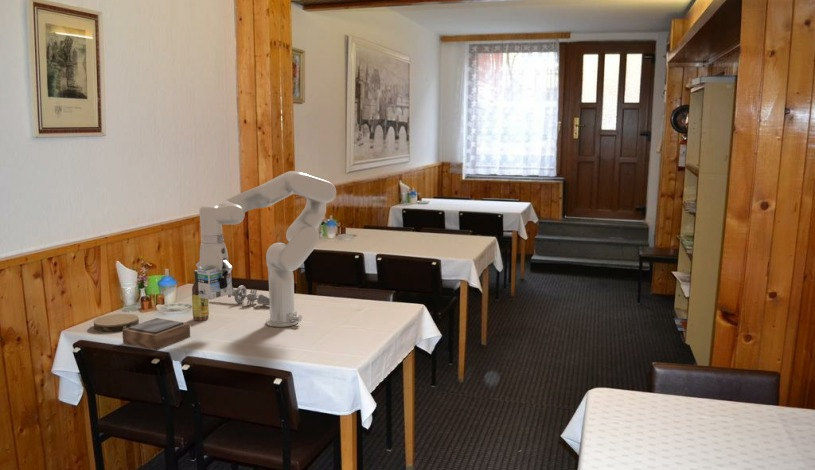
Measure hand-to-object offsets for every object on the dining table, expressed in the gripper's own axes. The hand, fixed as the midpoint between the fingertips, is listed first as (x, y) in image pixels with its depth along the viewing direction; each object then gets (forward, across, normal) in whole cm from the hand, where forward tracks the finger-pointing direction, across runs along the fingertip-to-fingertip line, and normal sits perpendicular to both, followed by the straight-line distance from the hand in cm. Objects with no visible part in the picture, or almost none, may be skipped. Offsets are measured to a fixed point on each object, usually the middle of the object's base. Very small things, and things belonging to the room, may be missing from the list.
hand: (215, 286), depth 245 cm
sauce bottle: (+18, +18, -11) cm, 28 cm away
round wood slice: (+18, +42, +10) cm, 46 cm away
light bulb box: (+4, 0, 0) cm, 4 cm away
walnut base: (+17, +14, +16) cm, 28 cm away
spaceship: (+19, +20, -38) cm, 47 cm away
